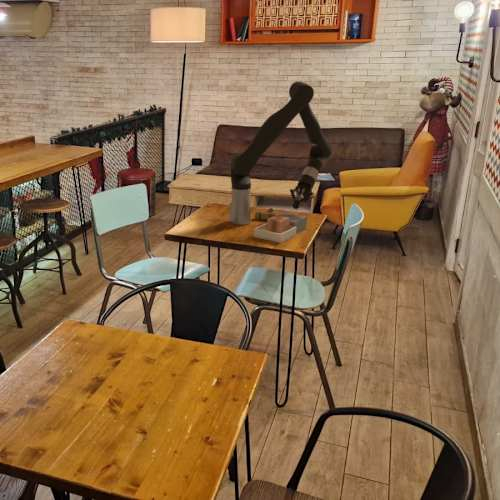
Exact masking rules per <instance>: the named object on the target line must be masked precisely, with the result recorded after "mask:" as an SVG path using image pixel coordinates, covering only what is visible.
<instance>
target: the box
mask: <svg viewBox="0 0 500 500" xmlns="http://www.w3.org/2000/svg"><path fill="white" fill-rule="evenodd" d="M296 229H297V227H294V226H289V230H287V231H285V232H283V233H281V234H279V233H274V232H270V231H267V222H266V223H263V224H261V225H260V226H257V227H254V228H253V237H254V238H256V239H259V240H260V239H261V240H265V241H268V242H269V241H270V242H273V243H277V244H282V243H284V242H286V241H288V240H291V239H292V238H294V237H296V236H297V234H296Z"/></svg>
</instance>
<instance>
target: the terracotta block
mask: <svg viewBox="0 0 500 500" xmlns="http://www.w3.org/2000/svg"><path fill="white" fill-rule="evenodd" d="M279 215H280V214H276V216H273V217H271V218H268V219H267V220H266V223H267V231H270V232H274V233H279V234H281V233H283V232H285V231H287V230H289V226H290V218H288V217H283V216H279Z"/></svg>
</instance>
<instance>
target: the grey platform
mask: <svg viewBox="0 0 500 500" xmlns="http://www.w3.org/2000/svg"><path fill="white" fill-rule="evenodd" d="M278 215H279V216H283V217H288V218H290V226H294V227H297V229H296V235H297V234H299V233H300V232H302V231H305V230H307V224H308V223H307V222H308V216H306V215H300V214H295V213H290V212H283V213H280V214H278Z"/></svg>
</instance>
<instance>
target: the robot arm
mask: <svg viewBox="0 0 500 500" xmlns="http://www.w3.org/2000/svg"><path fill="white" fill-rule="evenodd" d="M288 93H289V97H290V99H289V101H288V102H287V103H286V104H285V105H284V106H283V107H281V108H280V109H279V110H277V111H276V112H274V113H272V114H271V115H270V116H269V117H268V118H267V119H266V120H265V121H264V122H263V123H262V125H261V126H260V127H259V129H258V130H257V132H256V134H255V136H254V138H253V140H252V142H251V143H250V145H249V146H248V147H247V148H246V149H245V150H244V152H242V153H240V152H239V153H236V154H235V155H234V156H233V157H232V159H231V163H230V182H231V202H230V203H229V222H230V223H231V224H233V225H239V226H240V225H241V226H243V225H244V226H245V225H248V224H250V223H251V193H252V191H251V190H252V183H251V171H252V170H253V169H254V167H255V165H257V162H258V161H259V160H260V158H261V157H262V156H263V155H264V154H265V153H266V151H268V149H269V148H270V147H271V146H272V145H273V143H275V141H277V139H278V138H279V137H280V135H282V133H283V132H284V130H285V129H286V128H287V127H288V126H289V125H290V123H291V122H293V120H294V119H295V118H296V117H297V115H299V117H300V119H301V121H302V124H303V127H304V130H305V133H306V135H307V137H308V141H309V143H310V144H313V145H311V147H310V150H309V155H308V162H307V164H306V166H305V168H304V169H303V170H302V173H301V176H300V177H299V180H298V181H297V185H296V186H295V187H294V188H293V189H292V188H290V189H289V192H290V195H291V198H292V200H293V203H292V207H293V209H294V210H298V209H299V208H300V206H301V204H302V203H307V202H308V201H309V200H310V201H311V199H313V198H314V197H315V195H314V192H313V188H314V186H315V183H316V182H317V179H318V178H319V173H320V171H321V170H322V167H323V162H322V161H321V160H323V159H324V160H325V159H329V158H331V156H332V153H333V152H332V146H331V145H330V143H329V141H328V140H327V138H326V137H325V136H324V133H323V131H322V128H321V125H320V122H319V121H318V118H317V116H316V115H315V114H314V112H313V110H312V108H311V106H310V102H312V100H313V98H314V95H315V90H314V87H313V86H312V85H311V84H309V83H305V82H303V81H294V82H293V83H292V84H291V85H290V87H289V91H288ZM320 159H321V160H320Z"/></svg>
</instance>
